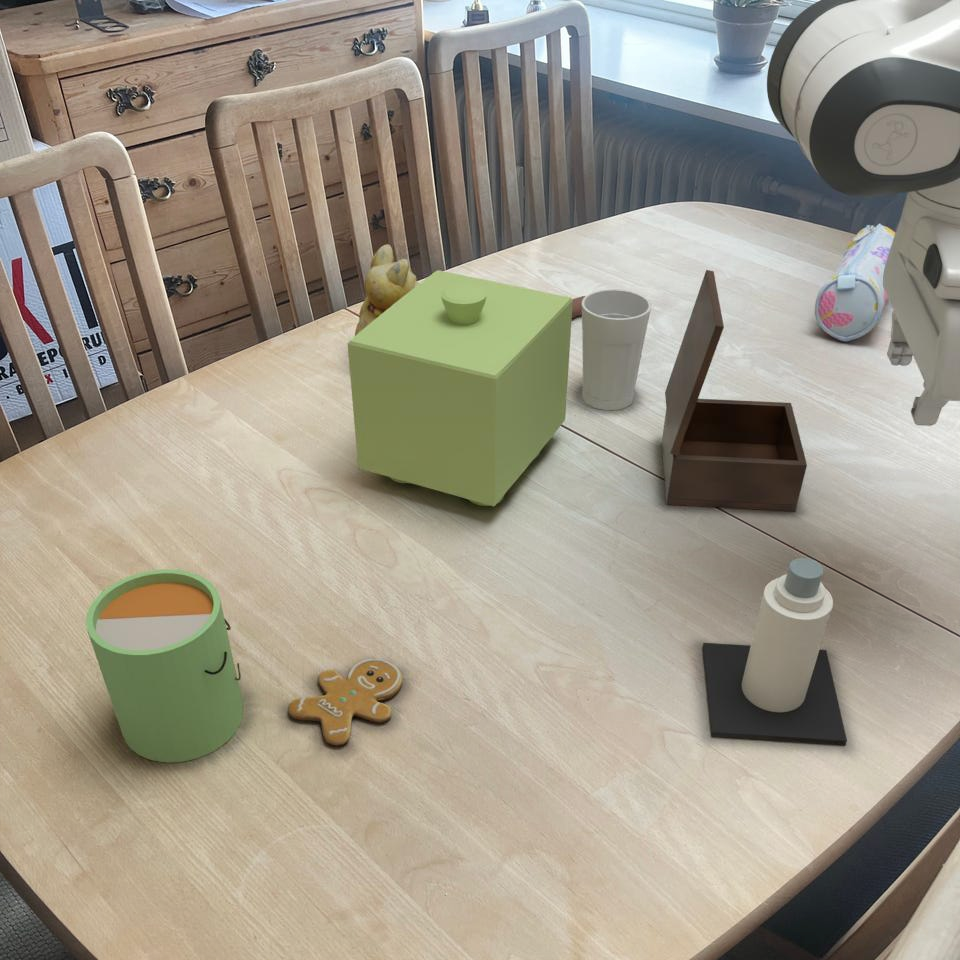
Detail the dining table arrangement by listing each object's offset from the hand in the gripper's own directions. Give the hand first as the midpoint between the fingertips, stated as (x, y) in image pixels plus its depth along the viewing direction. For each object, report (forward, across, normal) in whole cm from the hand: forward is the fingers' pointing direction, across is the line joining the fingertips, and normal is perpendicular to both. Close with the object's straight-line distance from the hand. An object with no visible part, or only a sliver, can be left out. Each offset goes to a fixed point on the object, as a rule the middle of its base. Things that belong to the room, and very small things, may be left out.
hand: (909, 390), depth 88 cm
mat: (+20, +17, -10) cm, 28 cm away
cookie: (+20, +20, -46) cm, 54 cm away
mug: (+20, +22, -60) cm, 67 cm away
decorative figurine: (+22, -39, -51) cm, 68 cm away
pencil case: (+23, -59, +11) cm, 64 cm away
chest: (+21, -17, -10) cm, 29 cm away
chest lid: (+8, -18, -15) cm, 25 cm away
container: (+21, -18, -40) cm, 48 cm away
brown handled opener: (+22, -50, -34) cm, 65 cm away
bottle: (+20, +17, -10) cm, 28 cm away
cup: (+22, -33, -23) cm, 46 cm away
